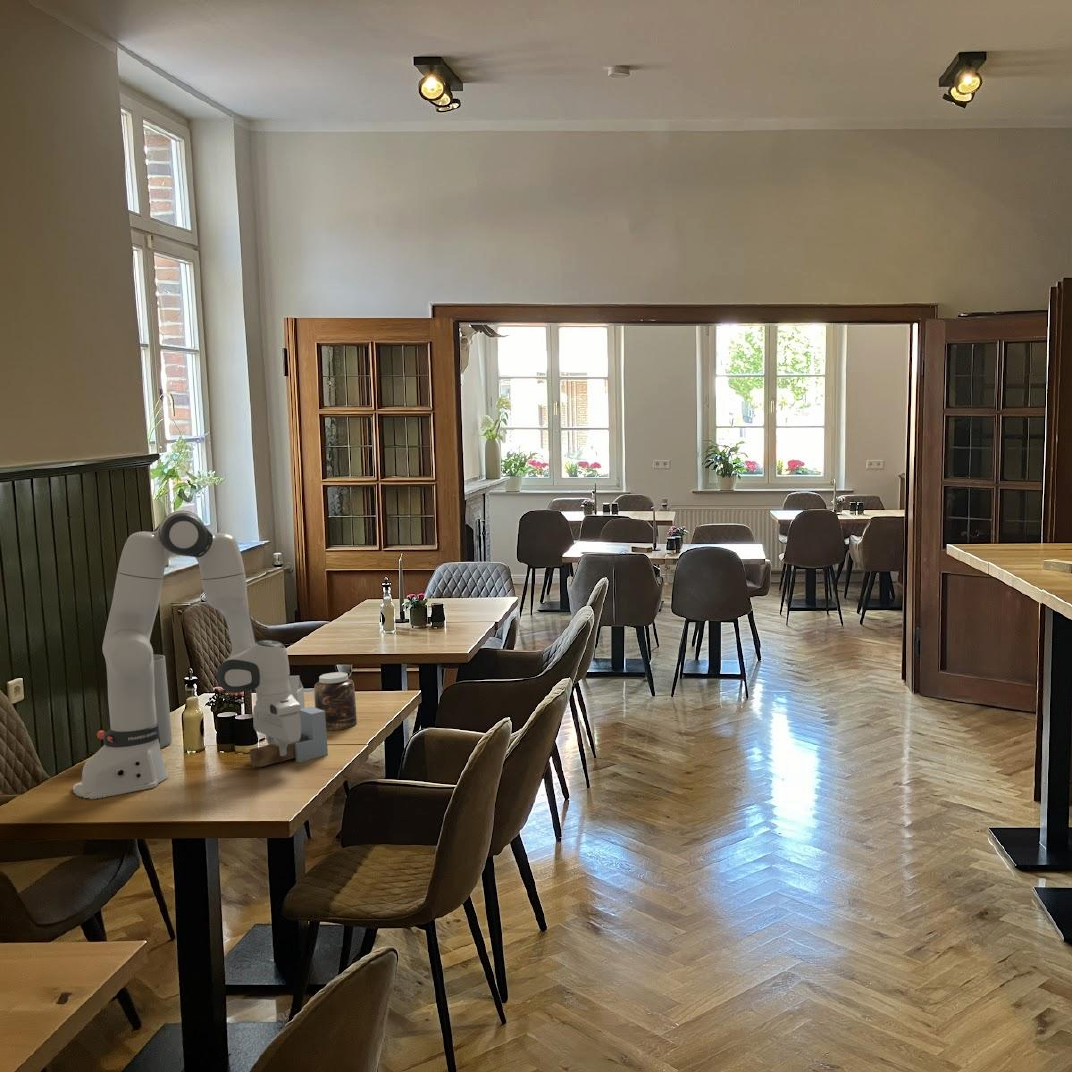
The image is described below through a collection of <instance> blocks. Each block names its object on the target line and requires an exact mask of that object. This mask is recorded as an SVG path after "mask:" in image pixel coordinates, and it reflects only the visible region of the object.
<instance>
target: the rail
mask: <svg viewBox="0 0 1072 1072" xmlns="http://www.w3.org/2000/svg"><path fill="white" fill-rule="evenodd" d="M306 740H307V736H305V735H303V734H301V738H300V740H299V741H298V742H302V741H306ZM298 742H295V743H298ZM295 743H291V744H288V745H287V748H286V750H287V754H286V755H285V756H280V755H278V749H279V746H280V744H279V743H274V744H270V745H268V744H267V745H263V746H258V747H255V748H251V749H249V753H250V754H249V757H250V765H251V766H253V767H255V768H260V767H264V766H268V765H271V764H276V763H280V762H283V761H287V760H288V761H289V760H292V759H294V758H295V759H296V757H295Z"/></svg>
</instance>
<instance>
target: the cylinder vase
mask: <svg viewBox="0 0 1072 1072" xmlns="http://www.w3.org/2000/svg"><path fill="white" fill-rule="evenodd" d="M153 659H154V694H155V706H156V718H157V722H158V723H159V728H160V749H162V748H165V747H167V746H168V745H170V744H171V743H172V742H173V735H172V726H171V713H170V712H171V711H170V701H169V700H170V699H169V689H168V688H169V687H168V679H167V666H166V655H163V654H153Z"/></svg>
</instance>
